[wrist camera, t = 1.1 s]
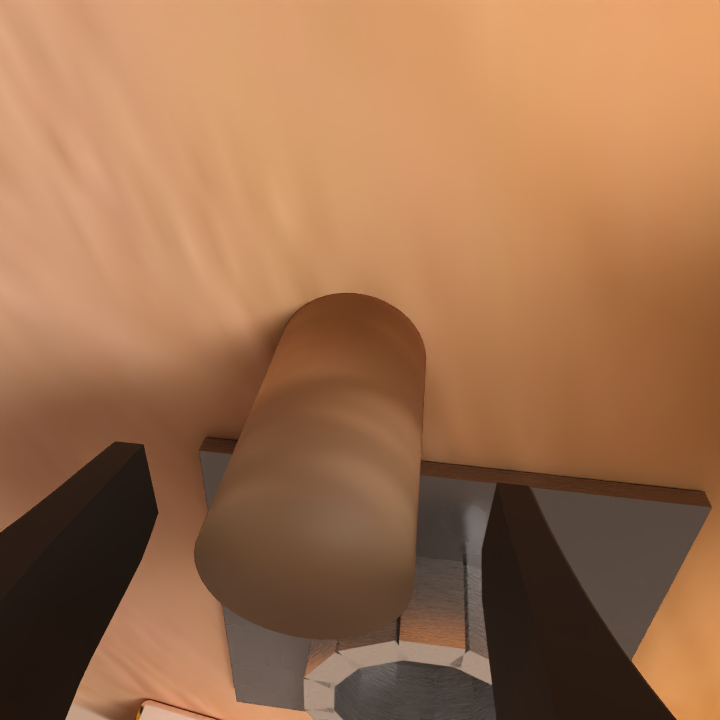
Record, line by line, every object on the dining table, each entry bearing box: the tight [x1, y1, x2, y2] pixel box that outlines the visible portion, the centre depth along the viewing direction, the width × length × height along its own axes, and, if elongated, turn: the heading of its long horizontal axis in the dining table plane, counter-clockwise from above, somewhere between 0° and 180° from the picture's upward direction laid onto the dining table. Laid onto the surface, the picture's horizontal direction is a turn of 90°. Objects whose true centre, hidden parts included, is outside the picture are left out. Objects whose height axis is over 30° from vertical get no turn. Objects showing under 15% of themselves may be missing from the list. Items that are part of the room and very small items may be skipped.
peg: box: [194, 293, 426, 640], centre depth 14 cm, size 4×4×7 cm
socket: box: [199, 437, 712, 720], centre depth 21 cm, size 15×15×4 cm
